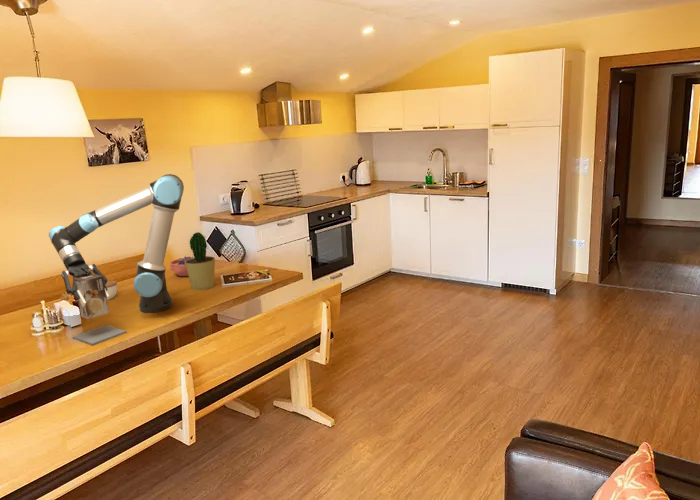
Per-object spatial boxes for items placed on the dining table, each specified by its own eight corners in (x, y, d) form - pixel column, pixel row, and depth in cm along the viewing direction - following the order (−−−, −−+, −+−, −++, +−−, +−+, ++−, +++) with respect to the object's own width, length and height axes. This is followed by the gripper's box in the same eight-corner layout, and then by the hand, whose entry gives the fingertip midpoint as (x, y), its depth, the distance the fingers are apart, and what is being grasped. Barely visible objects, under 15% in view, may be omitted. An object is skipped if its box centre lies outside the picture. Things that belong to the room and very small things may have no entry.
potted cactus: (201, 281, 299) (195, 227, 292) (224, 283, 292) (217, 228, 285) (181, 289, 285) (174, 233, 278) (204, 292, 279) (197, 235, 272)
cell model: (192, 269, 326) (190, 250, 323) (209, 274, 312) (206, 255, 309) (165, 275, 315) (163, 256, 312) (181, 281, 301) (178, 261, 298)
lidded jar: (105, 294, 285) (102, 277, 283) (123, 294, 283) (120, 277, 281) (91, 301, 275) (88, 283, 273) (110, 301, 273) (107, 283, 270)
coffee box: (102, 310, 231) (96, 273, 227) (109, 313, 227) (103, 275, 223) (80, 316, 224) (74, 278, 220) (87, 319, 220) (81, 281, 216)
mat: (106, 326, 238) (106, 324, 238) (126, 332, 229) (126, 330, 229) (73, 338, 226) (72, 336, 226) (92, 345, 217) (92, 343, 217)
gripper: (95, 258, 238) (119, 299, 232) (43, 270, 222) (67, 314, 216) (99, 247, 234) (123, 289, 228) (46, 259, 218) (71, 303, 211)
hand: (96, 301), depth 222 cm, fingers closed on coffee box, 9 cm apart
